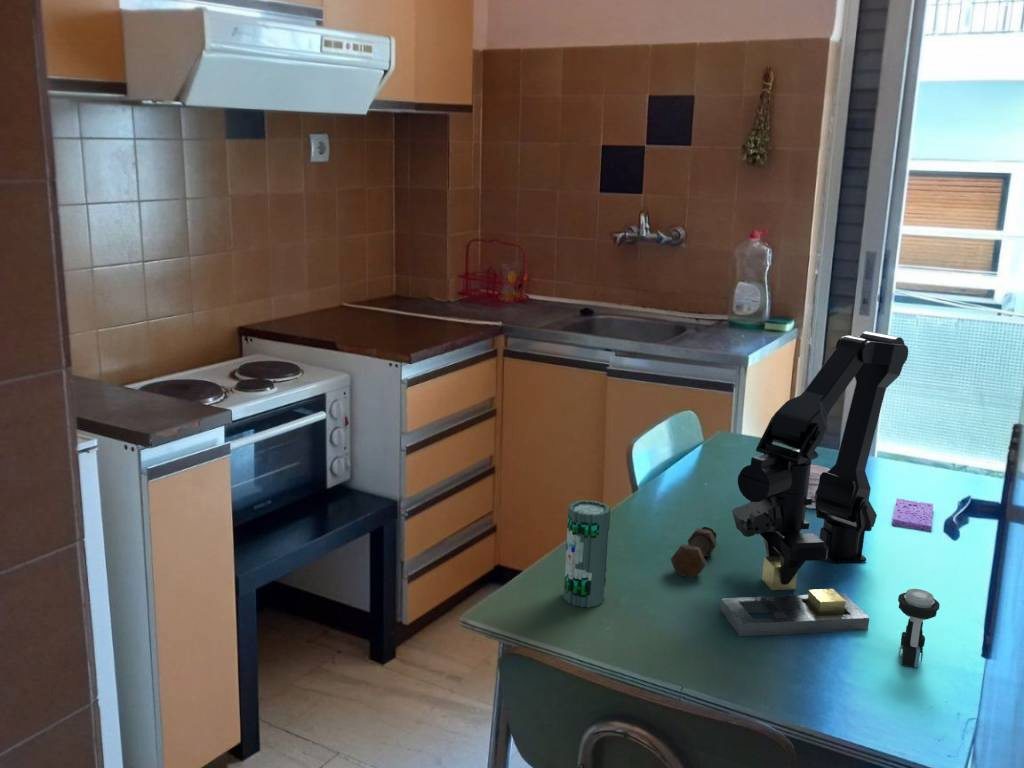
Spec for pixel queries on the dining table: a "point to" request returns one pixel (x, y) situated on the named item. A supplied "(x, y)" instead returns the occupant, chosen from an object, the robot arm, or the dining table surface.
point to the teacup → (814, 482)
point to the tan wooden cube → (825, 602)
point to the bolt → (694, 553)
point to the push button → (915, 623)
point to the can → (586, 553)
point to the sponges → (913, 514)
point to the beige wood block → (775, 574)
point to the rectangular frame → (789, 616)
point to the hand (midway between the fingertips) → (779, 578)
